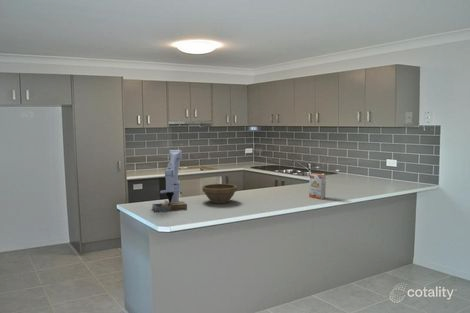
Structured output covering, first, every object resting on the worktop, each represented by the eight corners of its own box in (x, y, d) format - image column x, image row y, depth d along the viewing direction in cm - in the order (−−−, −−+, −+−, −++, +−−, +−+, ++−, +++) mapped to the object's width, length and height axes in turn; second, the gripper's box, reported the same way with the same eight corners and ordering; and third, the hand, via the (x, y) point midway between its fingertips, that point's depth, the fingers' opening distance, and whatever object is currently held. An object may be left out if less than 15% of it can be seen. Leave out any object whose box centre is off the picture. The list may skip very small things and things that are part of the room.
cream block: (165, 205, 321) (162, 204, 320) (167, 201, 322) (165, 199, 321) (166, 206, 318) (163, 205, 317) (168, 202, 318) (166, 200, 317)
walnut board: (168, 207, 323) (168, 202, 323) (182, 206, 328) (182, 201, 327) (171, 210, 312) (171, 205, 312) (186, 209, 317) (186, 204, 316)
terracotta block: (162, 209, 313) (161, 209, 315) (167, 209, 315) (166, 208, 317) (162, 204, 312) (161, 204, 314) (167, 203, 314) (166, 203, 316)
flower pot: (197, 200, 351) (197, 184, 349) (227, 197, 364) (227, 182, 362) (211, 206, 326) (211, 190, 324) (242, 203, 339) (242, 187, 337)
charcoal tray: (152, 208, 319) (152, 204, 318) (167, 207, 323) (167, 202, 323) (155, 211, 308) (155, 207, 307) (171, 210, 312) (171, 206, 312)
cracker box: (308, 196, 365) (309, 173, 363) (313, 196, 369) (313, 173, 367) (320, 199, 354) (321, 175, 352) (325, 198, 358) (326, 174, 356)
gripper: (161, 186, 313) (161, 203, 314) (180, 184, 318) (180, 202, 319) (159, 184, 319) (159, 201, 320) (177, 183, 324) (178, 200, 326)
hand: (169, 201), depth 320 cm, fingers closed
